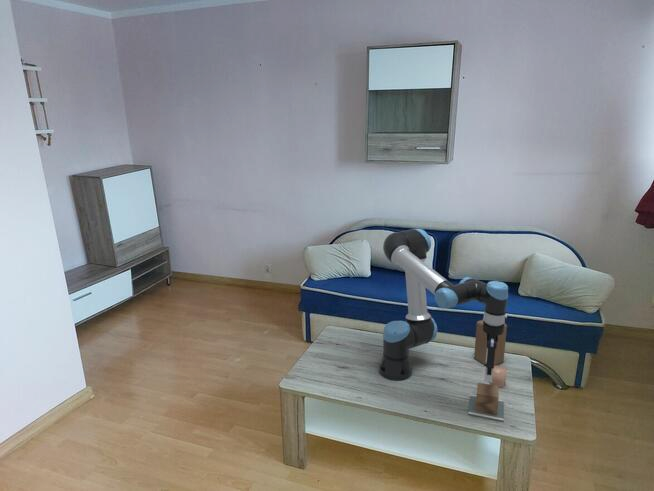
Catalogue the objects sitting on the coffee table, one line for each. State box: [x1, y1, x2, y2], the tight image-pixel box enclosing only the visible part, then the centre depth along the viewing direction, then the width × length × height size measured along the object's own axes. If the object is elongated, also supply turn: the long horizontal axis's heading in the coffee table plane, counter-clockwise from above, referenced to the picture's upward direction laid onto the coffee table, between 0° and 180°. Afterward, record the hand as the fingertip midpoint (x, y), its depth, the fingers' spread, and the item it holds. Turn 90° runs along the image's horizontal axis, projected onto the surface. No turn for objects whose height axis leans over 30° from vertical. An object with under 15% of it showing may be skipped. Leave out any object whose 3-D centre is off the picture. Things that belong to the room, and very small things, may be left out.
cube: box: [475, 382, 500, 415], centre depth 173 cm, size 8×8×8 cm
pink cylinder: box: [489, 365, 507, 389], centre depth 190 cm, size 6×6×7 cm
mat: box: [467, 394, 505, 423], centre depth 174 cm, size 13×13×1 cm
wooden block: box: [473, 319, 508, 366], centre depth 206 cm, size 10×10×20 cm
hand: (488, 371), depth 170 cm, fingers open, 13 cm apart
